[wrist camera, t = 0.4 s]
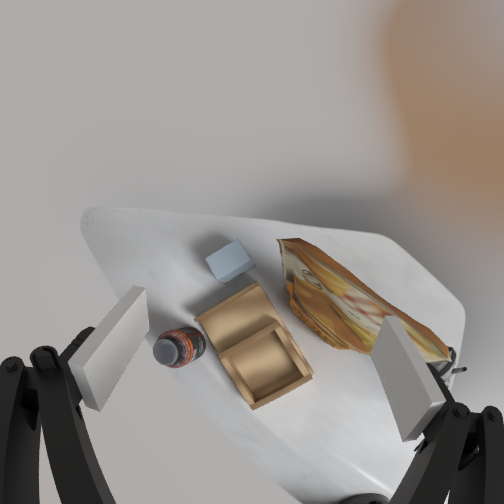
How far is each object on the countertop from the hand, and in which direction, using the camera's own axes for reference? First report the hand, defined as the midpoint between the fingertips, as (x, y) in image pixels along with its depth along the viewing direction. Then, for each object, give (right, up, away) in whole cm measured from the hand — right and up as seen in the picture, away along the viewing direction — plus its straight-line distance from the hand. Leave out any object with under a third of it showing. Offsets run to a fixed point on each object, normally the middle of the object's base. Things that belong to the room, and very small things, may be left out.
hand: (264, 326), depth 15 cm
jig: (0, -12, +32) cm, 34 cm away
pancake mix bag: (+12, -7, +32) cm, 35 cm away
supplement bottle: (-11, -12, +34) cm, 38 cm away
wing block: (-4, +2, +36) cm, 36 cm away
